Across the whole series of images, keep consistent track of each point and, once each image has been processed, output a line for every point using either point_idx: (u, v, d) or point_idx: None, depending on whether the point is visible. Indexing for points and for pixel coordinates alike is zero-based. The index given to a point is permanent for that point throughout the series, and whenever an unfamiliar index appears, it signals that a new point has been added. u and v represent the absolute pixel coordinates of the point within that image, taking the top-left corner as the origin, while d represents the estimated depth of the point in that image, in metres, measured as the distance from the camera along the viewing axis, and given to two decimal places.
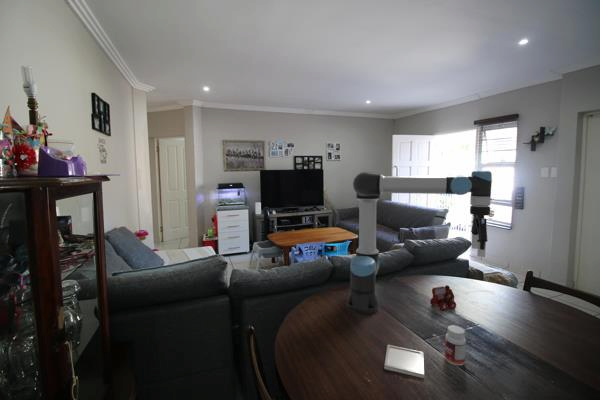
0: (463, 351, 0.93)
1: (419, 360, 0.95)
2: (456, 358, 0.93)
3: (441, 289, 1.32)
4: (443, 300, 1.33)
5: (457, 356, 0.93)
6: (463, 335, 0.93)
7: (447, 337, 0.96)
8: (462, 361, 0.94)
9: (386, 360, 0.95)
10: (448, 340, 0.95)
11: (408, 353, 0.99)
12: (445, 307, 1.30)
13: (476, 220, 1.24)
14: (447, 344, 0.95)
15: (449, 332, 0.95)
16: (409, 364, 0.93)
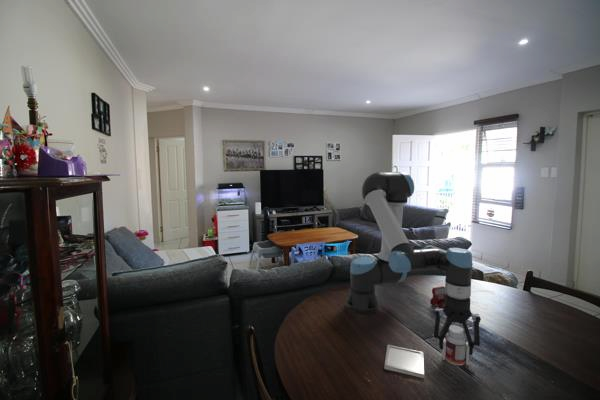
0: (463, 351, 0.93)
1: (419, 360, 0.95)
2: (456, 358, 0.93)
3: (441, 289, 1.32)
4: (443, 300, 1.33)
5: (457, 356, 0.93)
6: (463, 335, 0.93)
7: (447, 337, 0.96)
8: (462, 361, 0.94)
9: (386, 360, 0.95)
10: (448, 340, 0.95)
11: (408, 353, 0.99)
12: None
13: None
14: (447, 344, 0.95)
15: (449, 332, 0.95)
16: (409, 364, 0.93)
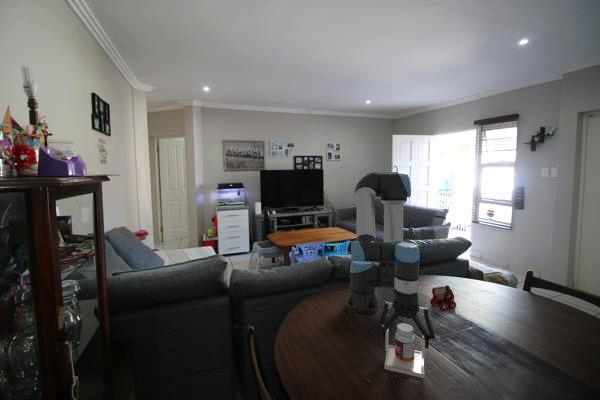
0: (411, 349, 0.93)
1: (419, 360, 0.95)
2: (404, 356, 0.93)
3: (441, 289, 1.32)
4: (443, 300, 1.33)
5: (405, 354, 0.93)
6: (411, 333, 0.93)
7: (396, 335, 0.95)
8: (410, 359, 0.93)
9: (386, 360, 0.95)
10: (397, 338, 0.94)
11: None
12: (445, 307, 1.30)
13: None
14: (396, 342, 0.95)
15: (398, 330, 0.95)
16: (409, 364, 0.93)
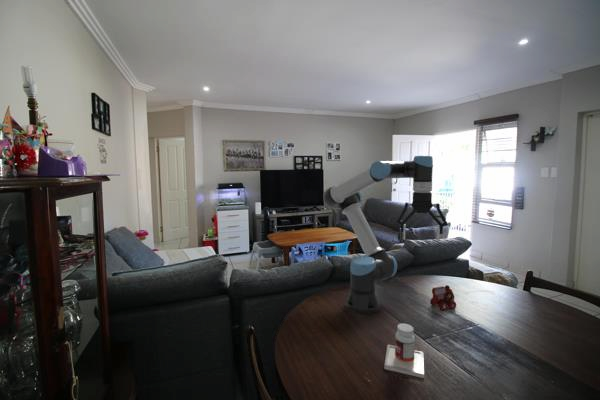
0: (411, 349, 0.93)
1: (419, 360, 0.95)
2: (404, 356, 0.93)
3: (441, 289, 1.32)
4: (443, 300, 1.33)
5: (405, 354, 0.93)
6: (411, 333, 0.93)
7: (396, 335, 0.95)
8: (410, 359, 0.93)
9: (386, 360, 0.95)
10: (397, 338, 0.94)
11: None
12: (445, 307, 1.30)
13: None
14: (396, 342, 0.95)
15: (398, 330, 0.95)
16: (409, 364, 0.93)
